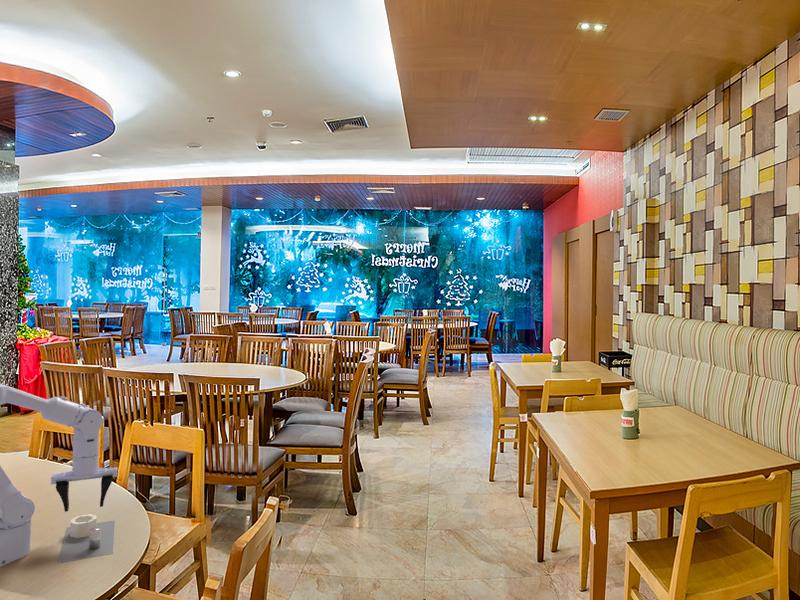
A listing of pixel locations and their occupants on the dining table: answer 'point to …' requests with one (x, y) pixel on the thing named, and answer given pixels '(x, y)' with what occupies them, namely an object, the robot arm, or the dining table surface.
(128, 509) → the dining table surface
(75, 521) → the cream ring
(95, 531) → the steel post
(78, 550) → the gray board
